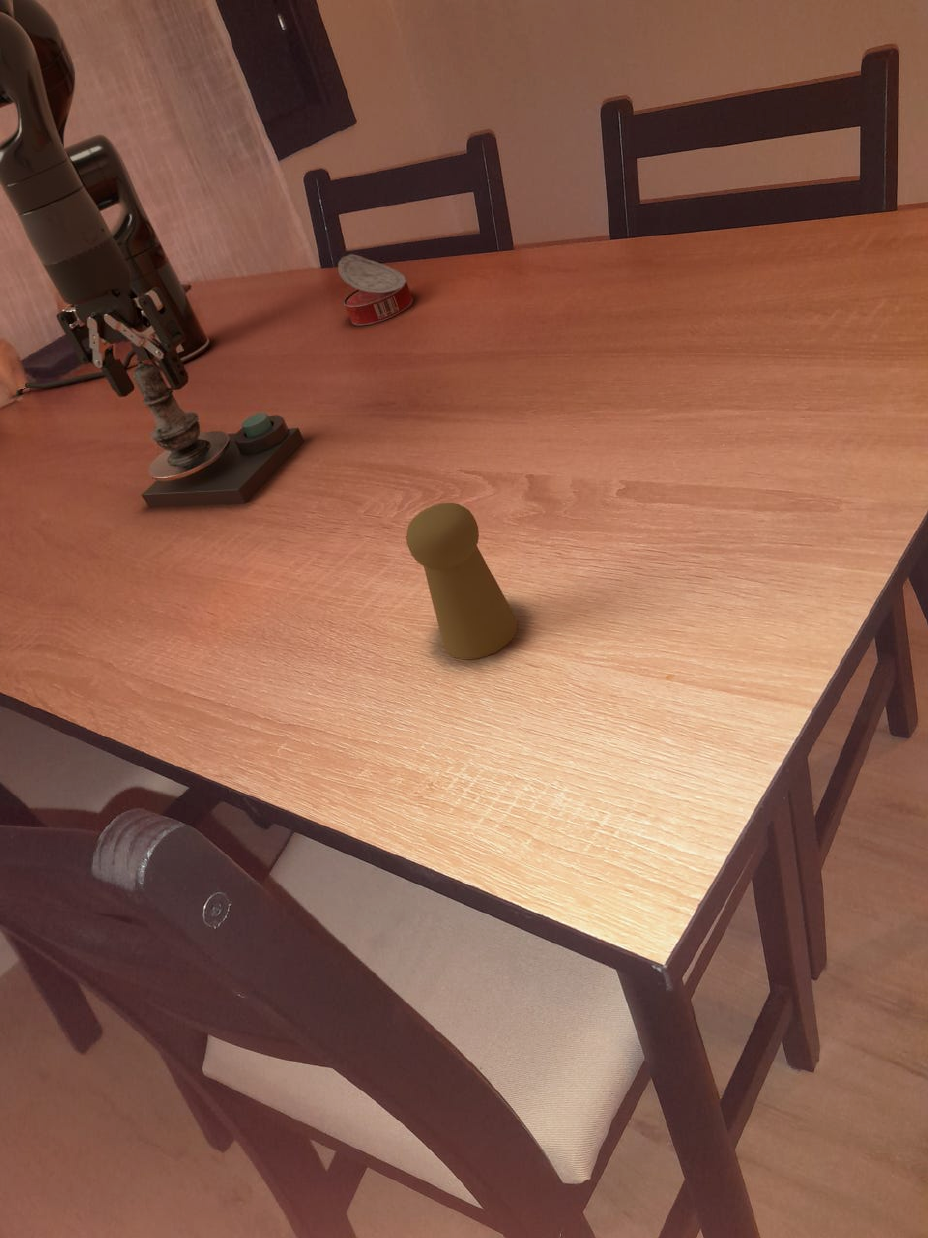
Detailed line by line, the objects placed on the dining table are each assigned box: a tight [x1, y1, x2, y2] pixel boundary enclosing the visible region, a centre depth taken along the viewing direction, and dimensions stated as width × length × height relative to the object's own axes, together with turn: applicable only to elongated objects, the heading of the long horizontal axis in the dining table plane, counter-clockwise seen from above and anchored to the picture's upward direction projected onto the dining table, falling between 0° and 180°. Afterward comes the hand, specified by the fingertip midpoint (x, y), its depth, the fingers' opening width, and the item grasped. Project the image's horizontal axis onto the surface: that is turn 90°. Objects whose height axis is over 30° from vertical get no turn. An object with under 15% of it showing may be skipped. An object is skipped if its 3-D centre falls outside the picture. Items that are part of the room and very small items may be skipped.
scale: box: [140, 414, 305, 509], centre depth 111 cm, size 15×14×4 cm
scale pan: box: [148, 430, 230, 481], centre depth 110 cm, size 10×10×1 cm
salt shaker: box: [132, 357, 210, 465], centre depth 106 cm, size 6×6×12 cm
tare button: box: [241, 412, 272, 437], centre depth 110 cm, size 3×3×2 cm
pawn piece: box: [405, 502, 519, 660], centre depth 70 cm, size 6×6×11 cm
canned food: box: [337, 253, 414, 326], centre depth 141 cm, size 11×10×10 cm
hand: (153, 389), depth 105 cm, fingers open, 8 cm apart
